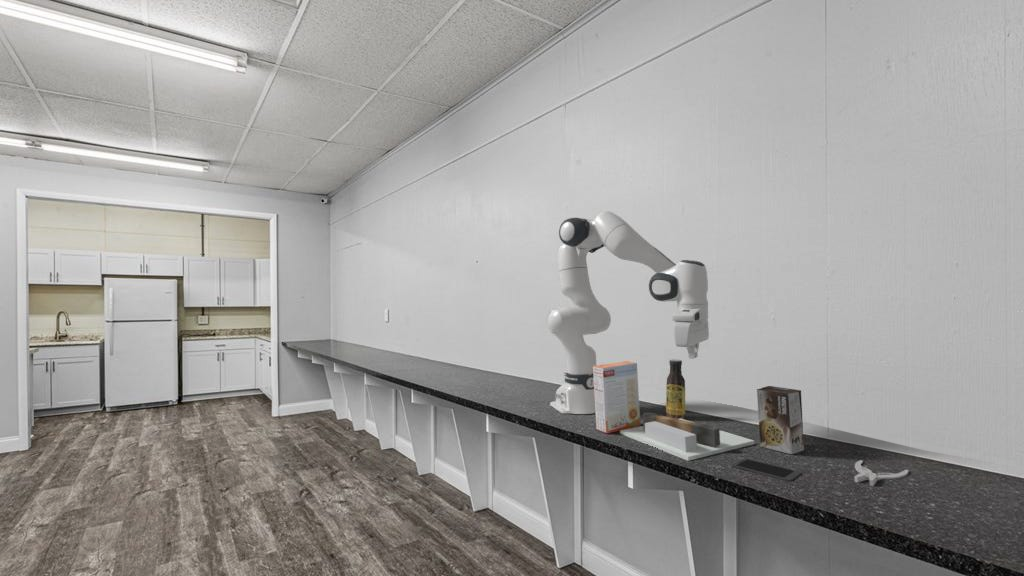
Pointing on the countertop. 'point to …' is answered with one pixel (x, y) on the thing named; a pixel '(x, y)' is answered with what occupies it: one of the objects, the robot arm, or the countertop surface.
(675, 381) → the sauce bottle
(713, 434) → the lever
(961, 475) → the countertop surface
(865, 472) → the pliers
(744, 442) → the press board
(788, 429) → the coffee box
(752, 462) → the cell phone
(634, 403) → the cracker box
